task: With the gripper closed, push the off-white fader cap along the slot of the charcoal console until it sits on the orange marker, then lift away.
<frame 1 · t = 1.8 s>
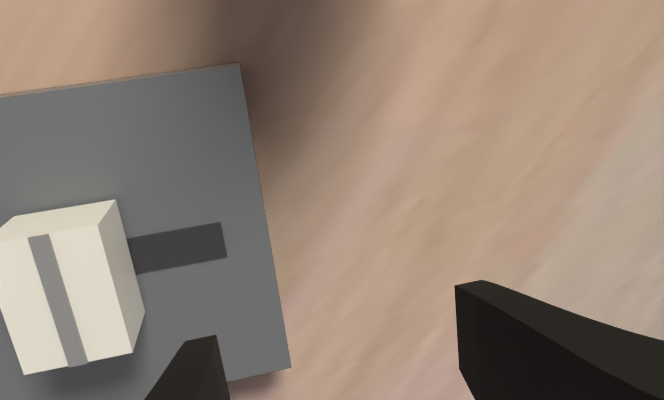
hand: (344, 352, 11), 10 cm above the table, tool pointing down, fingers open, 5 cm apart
fader cap: (71, 283, 16), point 4 cm above the table, slide at -6.0 cm
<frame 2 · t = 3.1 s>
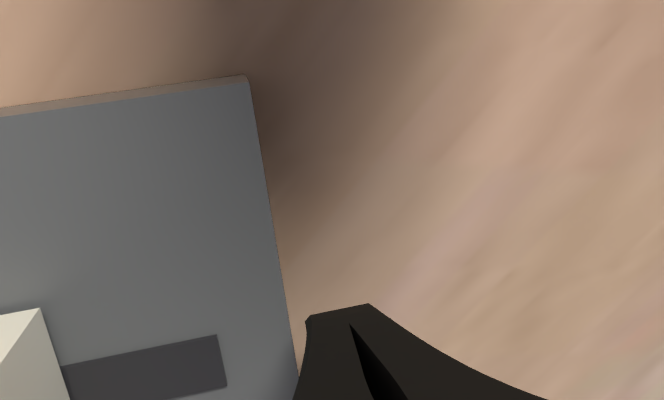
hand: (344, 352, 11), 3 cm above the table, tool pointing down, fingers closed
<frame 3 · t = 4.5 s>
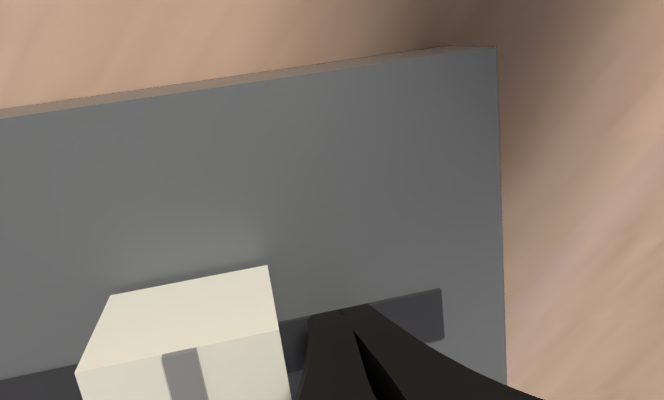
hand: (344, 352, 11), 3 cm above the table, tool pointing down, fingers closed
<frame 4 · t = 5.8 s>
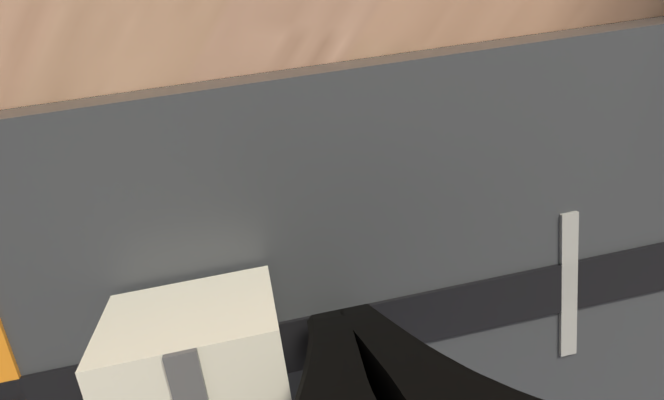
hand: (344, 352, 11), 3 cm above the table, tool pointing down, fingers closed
console: (296, 289, 14), on the table
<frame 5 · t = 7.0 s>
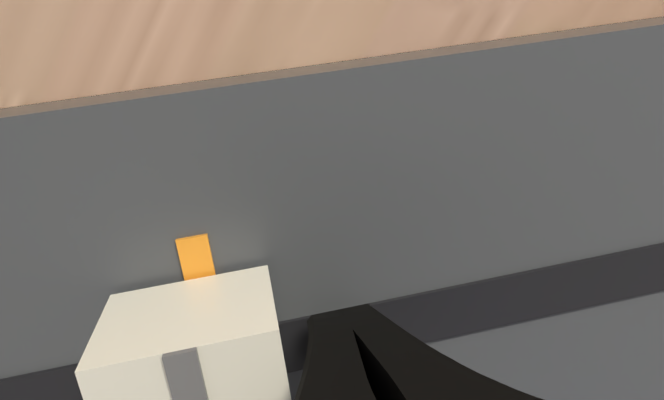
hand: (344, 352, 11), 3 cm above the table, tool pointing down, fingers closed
console: (444, 259, 14), on the table
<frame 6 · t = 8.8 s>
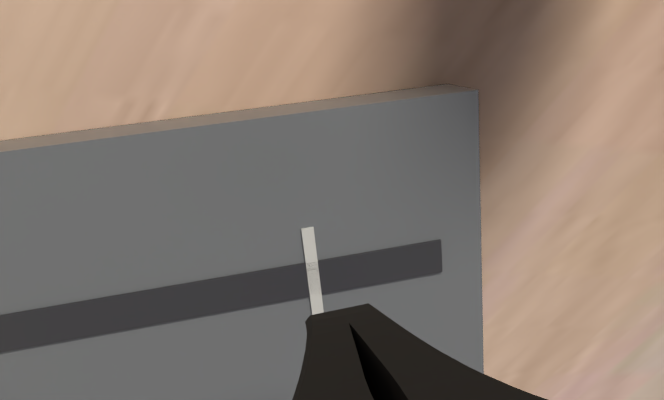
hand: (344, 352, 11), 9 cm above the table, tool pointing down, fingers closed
console: (140, 277, 19), on the table
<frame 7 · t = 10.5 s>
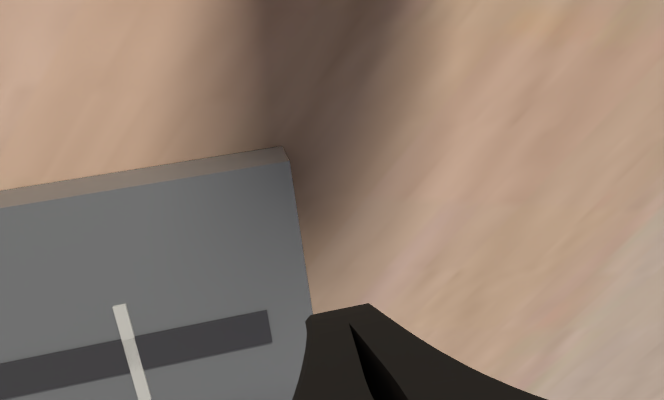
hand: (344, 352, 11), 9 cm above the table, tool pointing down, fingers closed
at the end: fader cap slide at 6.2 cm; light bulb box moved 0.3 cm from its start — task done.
